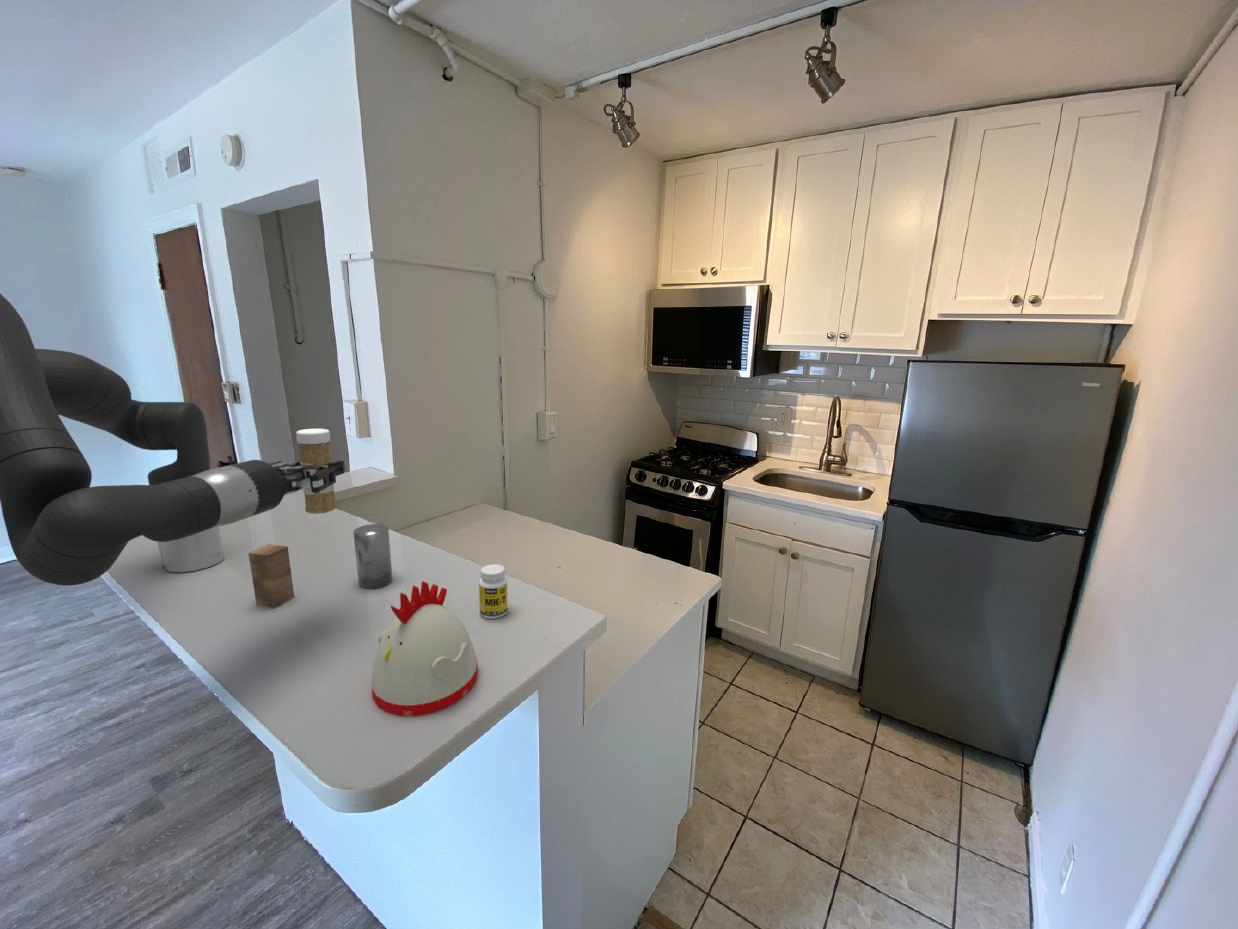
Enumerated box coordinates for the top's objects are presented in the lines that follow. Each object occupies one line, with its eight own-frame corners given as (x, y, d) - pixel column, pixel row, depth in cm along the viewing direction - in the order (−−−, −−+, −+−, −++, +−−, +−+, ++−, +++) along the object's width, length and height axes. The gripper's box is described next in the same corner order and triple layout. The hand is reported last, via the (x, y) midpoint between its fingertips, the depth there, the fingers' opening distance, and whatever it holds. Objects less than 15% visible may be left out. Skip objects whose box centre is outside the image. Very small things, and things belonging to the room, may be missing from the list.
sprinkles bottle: (337, 512, 82) (330, 431, 79) (305, 516, 79) (296, 433, 76) (335, 504, 85) (328, 427, 82) (304, 507, 83) (295, 428, 80)
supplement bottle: (483, 622, 85) (481, 577, 83) (477, 609, 89) (475, 566, 87) (510, 616, 87) (509, 572, 85) (503, 603, 91) (502, 561, 89)
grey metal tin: (351, 587, 95) (345, 533, 92) (372, 573, 101) (368, 522, 98) (378, 591, 94) (374, 537, 91) (399, 577, 100) (395, 526, 97)
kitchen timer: (351, 689, 68) (340, 590, 64) (434, 640, 80) (429, 554, 76) (416, 732, 61) (408, 623, 57) (497, 672, 73) (495, 578, 69)
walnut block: (256, 605, 88) (248, 552, 85) (276, 594, 92) (268, 544, 89) (275, 608, 87) (267, 555, 85) (294, 597, 91) (287, 546, 88)
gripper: (273, 471, 65) (365, 446, 81) (185, 461, 68) (291, 439, 84) (280, 525, 66) (368, 490, 83) (194, 513, 69) (296, 482, 86)
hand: (329, 465), depth 83 cm, fingers closed on sprinkles bottle, 4 cm apart
